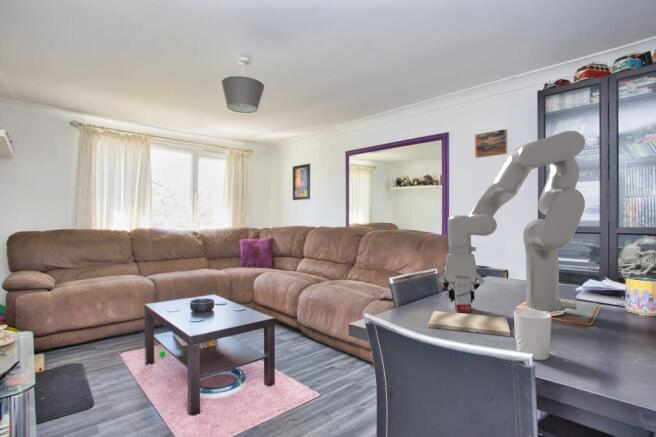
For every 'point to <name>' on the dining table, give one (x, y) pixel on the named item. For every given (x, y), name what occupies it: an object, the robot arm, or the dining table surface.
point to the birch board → (470, 323)
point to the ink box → (462, 294)
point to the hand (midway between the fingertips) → (461, 300)
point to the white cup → (533, 332)
